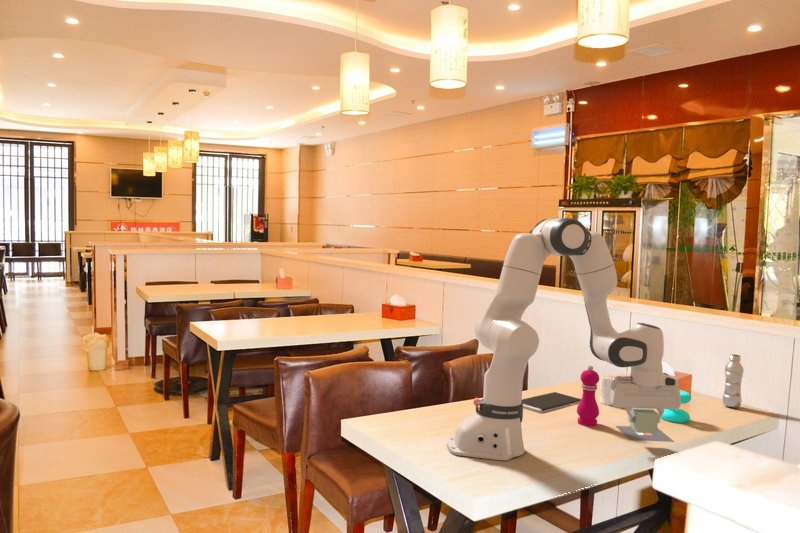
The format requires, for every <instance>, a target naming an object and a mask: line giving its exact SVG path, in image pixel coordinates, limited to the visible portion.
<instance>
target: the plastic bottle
mask: <svg viewBox="0 0 800 533" xmlns="http://www.w3.org/2000/svg"><path fill="white" fill-rule="evenodd" d="M728 360H729V362H727V363H726V364H725V366H724V374H725V383H724V384H725V385H724V392H723V396H722V403H723V405H724V406H726V407H728V408H735V409H736V408H740V406H741V405H742V403H743V400H742V392H741V391H742V381H743V376H744V366H743V365H742V363H741V355H739V354H731V353H730V354H729V359H728Z"/></svg>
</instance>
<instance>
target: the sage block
mask: <svg viewBox="0 0 800 533" xmlns="http://www.w3.org/2000/svg"><path fill="white" fill-rule="evenodd" d="M630 413H631V415H633V416H635V422H629V426H630V427H631V428H632V429H633V430H635V431H636V432H637V433H657V428H659V427H658V425H659V423H658V411H655V410H654V409H650V408H632V411H630Z"/></svg>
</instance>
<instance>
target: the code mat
mask: <svg viewBox="0 0 800 533" xmlns="http://www.w3.org/2000/svg"><path fill="white" fill-rule="evenodd" d="M615 427H616V429H618V430H619V431H620V432H621V433H622V434H623V435H624V436H625V437H626V438H627V439H628V440H629V441H643V442H644V441H646V442H647V441H648V442H664V443H665V442H666V443H669V442H670V443H675V441H674V440H673V439H672V438H671V437H669V436H668V435H667V434H666V433H665V432H663V431H662V430H661V429H660V428H659V427H657V433H637V432H636V431H635V430H633V429H632V428H631V427H630V425H629V426H625V425H615Z"/></svg>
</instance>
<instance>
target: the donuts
mask: <svg viewBox="0 0 800 533" xmlns="http://www.w3.org/2000/svg"><path fill="white" fill-rule="evenodd" d="M679 390H680V395H681V405H686V404H688V403H689V402H690V401H691V400H692V396H691V394H690V392H687V391H685V390H682V389H679ZM660 419H662V420H663V421H667V422H671V423H677V424H685V423H687V422H689V421H690V419H691V416H690V414H689V413H688V411H686V410H684V409H682V408H680V407H679V408H678V409H664V413H663V415H662V416H661V418H660Z"/></svg>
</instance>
